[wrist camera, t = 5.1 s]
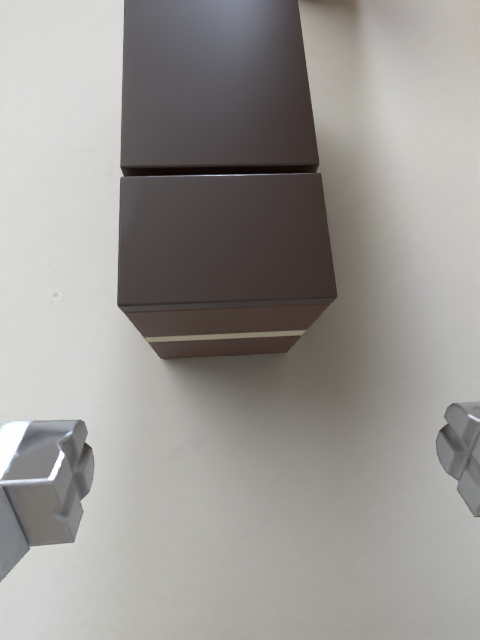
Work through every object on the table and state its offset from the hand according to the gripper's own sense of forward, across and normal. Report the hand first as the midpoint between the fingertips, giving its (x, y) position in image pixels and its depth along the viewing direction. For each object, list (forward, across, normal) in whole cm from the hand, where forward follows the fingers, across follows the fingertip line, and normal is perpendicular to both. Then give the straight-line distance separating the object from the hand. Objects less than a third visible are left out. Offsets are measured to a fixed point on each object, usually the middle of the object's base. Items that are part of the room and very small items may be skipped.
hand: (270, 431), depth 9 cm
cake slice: (+10, +1, +3) cm, 11 cm away
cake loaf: (+15, +1, -2) cm, 16 cm away
